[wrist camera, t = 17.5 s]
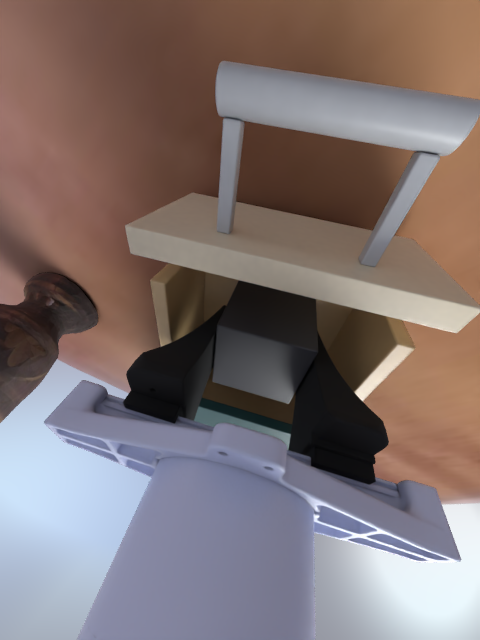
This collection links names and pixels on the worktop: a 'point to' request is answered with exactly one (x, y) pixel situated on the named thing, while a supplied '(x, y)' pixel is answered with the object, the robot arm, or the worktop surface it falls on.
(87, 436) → the robot arm
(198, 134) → the worktop surface
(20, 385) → the mortar and pestle
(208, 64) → the worktop surface
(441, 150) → the drawer
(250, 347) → the block
